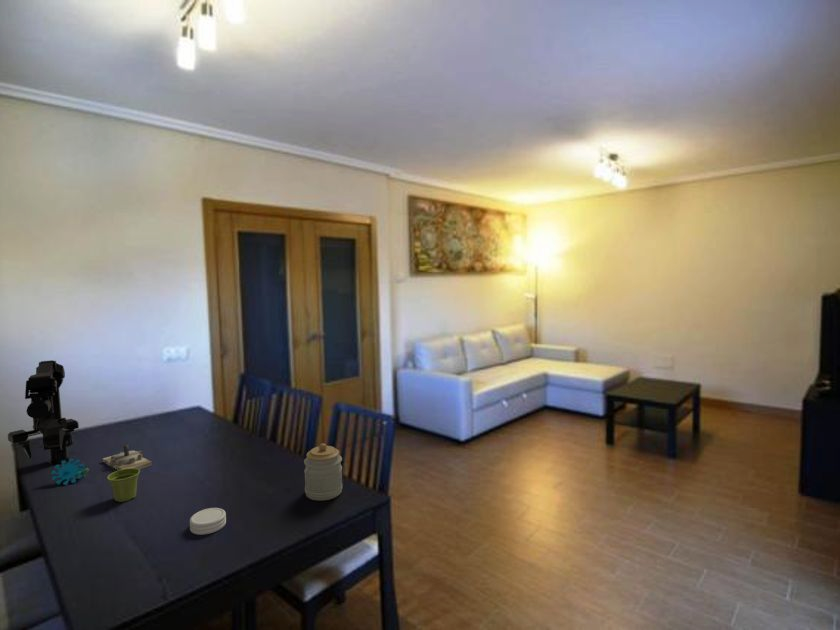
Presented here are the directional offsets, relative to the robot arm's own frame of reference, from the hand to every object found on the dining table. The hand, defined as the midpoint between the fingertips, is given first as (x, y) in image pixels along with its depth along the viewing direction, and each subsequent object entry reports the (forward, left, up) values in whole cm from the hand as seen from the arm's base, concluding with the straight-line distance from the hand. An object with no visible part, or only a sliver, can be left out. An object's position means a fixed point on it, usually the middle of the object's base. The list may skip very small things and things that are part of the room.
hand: (46, 453), depth 162 cm
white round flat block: (+70, +20, -14) cm, 74 cm away
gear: (-1, +7, -13) cm, 15 cm away
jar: (+83, +55, -13) cm, 100 cm away
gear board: (-1, +26, -13) cm, 29 cm away
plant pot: (+30, +13, -13) cm, 35 cm away
